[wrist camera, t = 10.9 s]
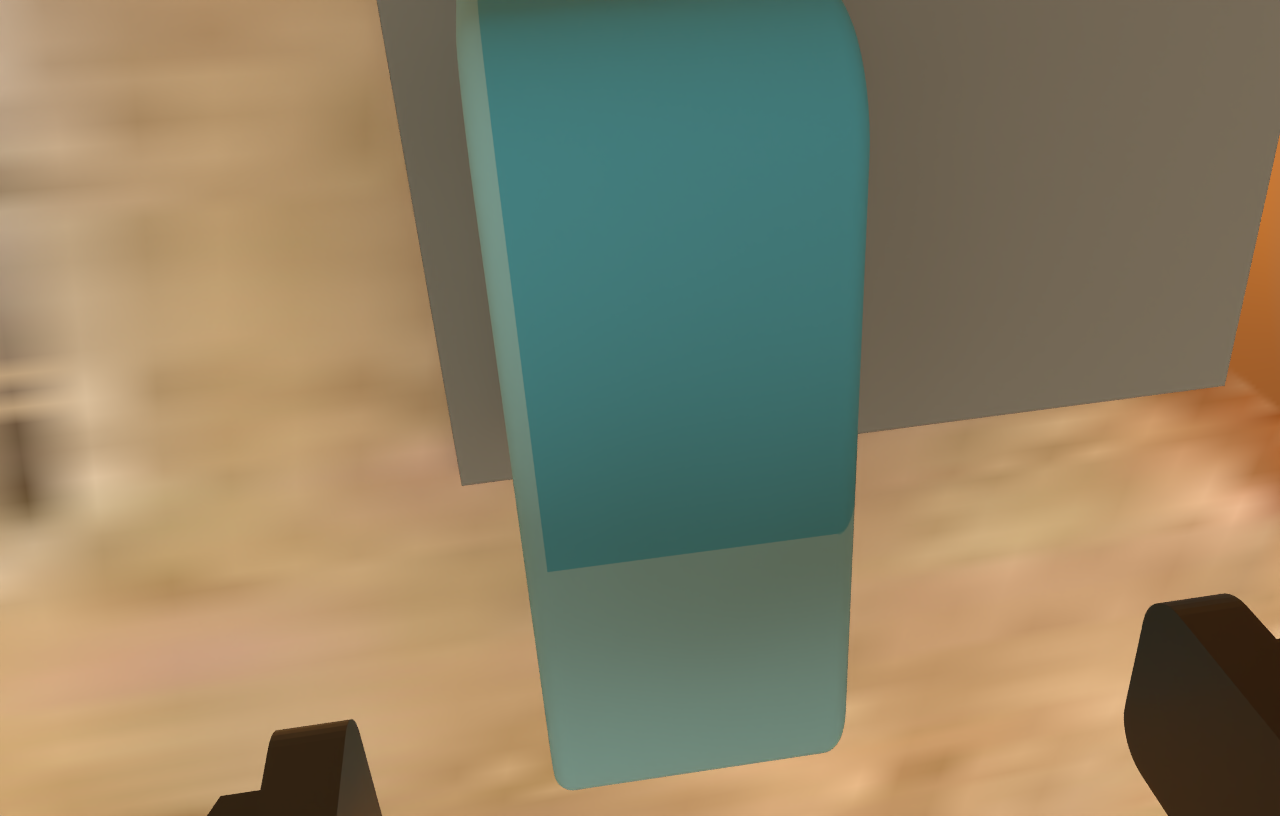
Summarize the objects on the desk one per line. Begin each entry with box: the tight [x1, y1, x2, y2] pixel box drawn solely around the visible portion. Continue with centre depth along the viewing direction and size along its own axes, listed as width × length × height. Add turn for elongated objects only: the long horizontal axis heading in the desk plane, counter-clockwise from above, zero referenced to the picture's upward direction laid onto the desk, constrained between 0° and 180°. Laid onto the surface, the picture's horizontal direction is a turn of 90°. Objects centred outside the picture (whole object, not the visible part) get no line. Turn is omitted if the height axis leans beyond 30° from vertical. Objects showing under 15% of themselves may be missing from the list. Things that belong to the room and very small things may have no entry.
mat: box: [377, 0, 1280, 486], centre depth 26 cm, size 14×20×1 cm
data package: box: [456, 0, 870, 790], centre depth 20 cm, size 12×4×12 cm, turn 3°
